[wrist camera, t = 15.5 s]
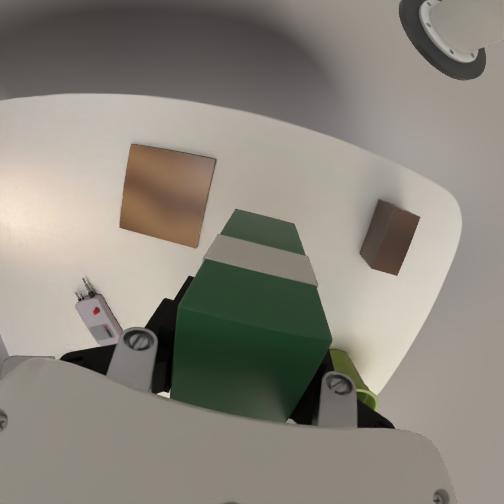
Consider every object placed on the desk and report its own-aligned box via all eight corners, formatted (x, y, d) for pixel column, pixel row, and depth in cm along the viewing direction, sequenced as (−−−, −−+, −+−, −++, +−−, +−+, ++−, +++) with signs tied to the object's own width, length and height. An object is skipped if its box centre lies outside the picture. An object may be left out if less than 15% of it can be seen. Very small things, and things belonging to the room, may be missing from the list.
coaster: (133, 143, 32) (131, 143, 32) (216, 159, 32) (215, 159, 32) (121, 226, 36) (119, 227, 36) (197, 247, 37) (196, 248, 36)
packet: (148, 292, 18) (177, 467, 7) (158, 197, 15) (191, 350, 5) (260, 295, 21) (353, 423, 11) (283, 215, 19) (426, 318, 9)
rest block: (378, 199, 33) (394, 206, 28) (403, 208, 33) (420, 217, 28) (359, 253, 35) (371, 268, 31) (383, 261, 36) (397, 275, 31)
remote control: (110, 351, 45) (103, 361, 43) (69, 282, 41) (59, 290, 38) (134, 348, 44) (127, 358, 41) (91, 273, 39) (81, 281, 37)
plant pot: (287, 348, 42) (290, 401, 31) (359, 329, 40) (379, 379, 29) (301, 392, 45) (305, 440, 35) (363, 376, 43) (377, 423, 33)
